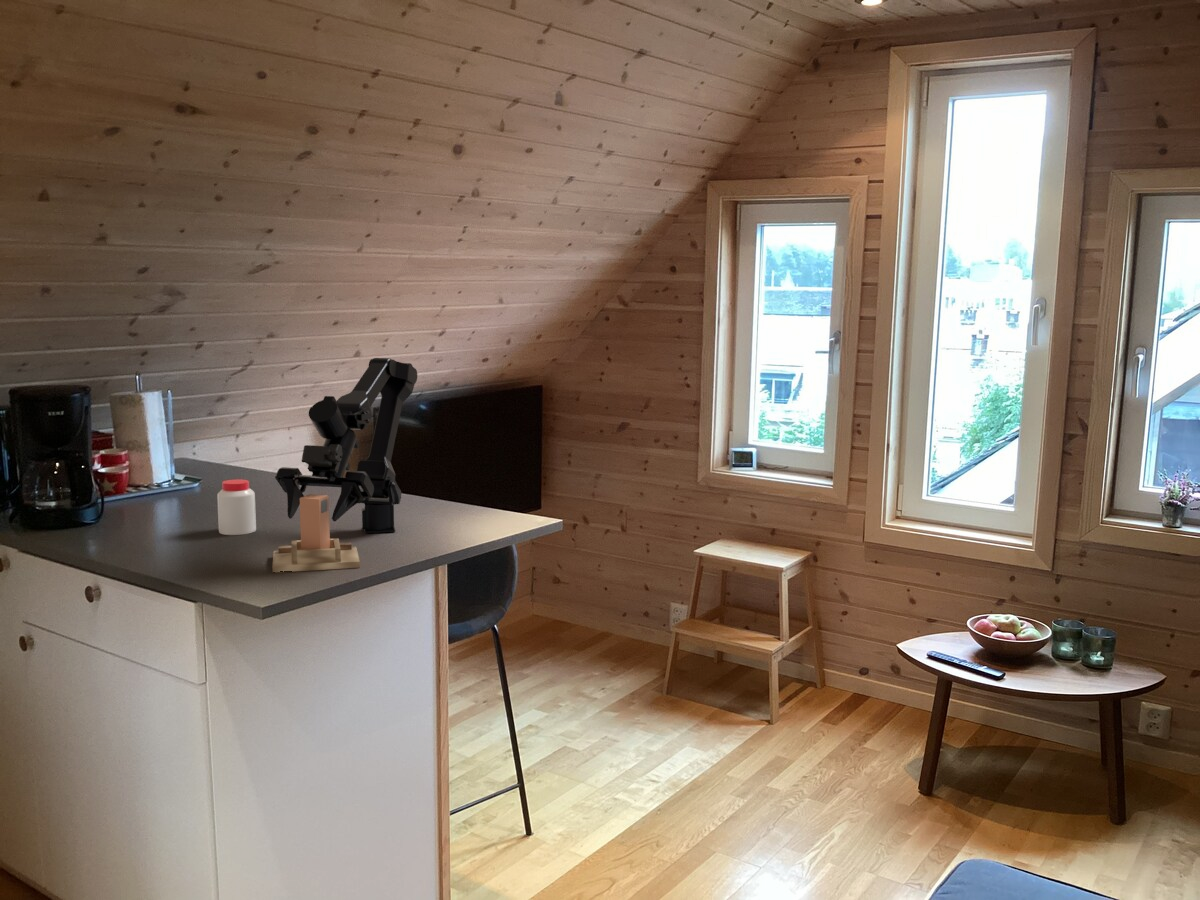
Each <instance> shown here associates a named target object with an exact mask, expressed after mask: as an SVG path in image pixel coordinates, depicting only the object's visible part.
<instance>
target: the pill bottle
mask: <svg viewBox="0 0 1200 900" xmlns="http://www.w3.org/2000/svg"><path fill="white" fill-rule="evenodd" d="M221 484H222V485H221V486H222V489H220V491H218V492H217V495H216V496H217V519H218V522H217V523H218V533H219V534H221V535H226V536H242V535H248V534H251V533H254V532H256V531H257V517H256V516H257V515H256V513H257V512H256V495H255V494H256V493H255V491H254V490H253V489H251V488H250V481H249V480H247V479H240V478H239V479H236V478H235V479H229V480H228V479H227V480H223V481H222V482H221Z"/></svg>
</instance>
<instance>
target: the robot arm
mask: <svg viewBox="0 0 1200 900" xmlns="http://www.w3.org/2000/svg"><path fill="white" fill-rule="evenodd" d="M417 381H418V371H417V369H416V368H415V367H414V366H413V364H412V363H411V362H400V361H397V360H395V359H392V358H389V357H373V358H371V359H370V360H369V362H368V367H367V368H366V370H365V371H364V373H363V374H362V376H361V377H360V379H359V380H358V382H357V383H356V384H355V386H354V387H353V389H352V391H350V392H349V393H347V394H345V395H341V396H340V397H339V398H338V399H336V397H335V396H333V395H330V396H329V395H325V396H323V399H322V400H319V401H318V402H316V403H314V404H313V405H312V406H311V407H310V408H309V409H308V417H309V419H310V421H311V423H312V424H313V427H315V429H316V431H317V433H318V435H319V436H320V437H321V438H323V439H325V441H324V442H323V445H310V444H309V445H308V444H307V445H304V446H303V451H302V455H301V462H302V463H305V464H306V465H308V466H307V469H308V470H307V471H308V472H310V473H312V474H310V475H309V474H303V473H302V472H301V470H300V469H299V468H298V467H285V466H284V467H280V468H279V469H278V470H277V471H276V473H275V476H274V479H275V480H276V481H277V483H278V485H279V486H280V487H281V489H282V490H283V492H284V493H286V495H287V517H288V519H291V520H292V518H293V517H294V516H295V514H296V512H297V511H298V509H299V508H300V498H301V497H304V496H305V495H304V494H303V493H304V492H306V489H307V487H323V488H327V489H328V488H331V489H340V493H339V497H338V500H337V502H336V505H335V507H334V509H333V512H332V516H331V519H332V521H333V522H337V521H338V520H339V519H340V518H341V517H342V516H344V515H345V514H346V513H347V512H348V511H349V510H350V509H351V508H353V507H355V506H356V505H357V504H363V507H361V511H360V513H361V514H360V516H361V529H362V530H364V533H365V534H377V533H380V534H381V533H395V532H396V528H395V507H394V506H395V505H400V504H401V500H402V491H401V489H400V487H399V485H398V483H397V480H396V476H397V475H396V473H395V470H394V468H393V465H392V456H393V453H394V448H395V444H396V438H397V433H398V429H399V423H400V419H401V414H402V408H403V404H404V402H405V401H406V400H407V399H408V398H409V397H410V396H411V395H412V394H413V391H414V388H415V384H416V383H417ZM379 394H380V395H381V397H380V398H381V399H380V403H379V407H378V408H379V409H378V413H377V417H376V422H375V425H374V426H375V427H374V432H373V436H372V441H371V445H370V450H369V454H368V456H367V458H366V459H359V462H358V463H357V470H350V469H351V465H350V463H349V462H350V459H351V456H352V453H353V450H354V449H359V447H360V445H359V441H358V437H357V435H356V433H355V431H354V430H361V431H362V430H363V431H364V430H366V428H367V427H368V425H369V424H370V422H371V419H372V417H373V414H372V406H373V403H374V402H375V401H376V399H377V397H379ZM345 472H346V473H345Z"/></svg>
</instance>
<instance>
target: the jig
mask: <svg viewBox="0 0 1200 900" xmlns="http://www.w3.org/2000/svg"><path fill="white" fill-rule="evenodd" d="M360 567H361V561H360V555H359V552H358V549H357V546H352V542H350V541H349V542H340V539H339V538H338V537H337V538H335V537H334V538H330V548H329V549H310V550H301V539H300V540H297V539H296V540H291V545H278V550H273V555H272V573H273V572H275V573H281V572H280V571H283V572H282V573H285V572H284V571H292V572H304V571H323V570H324V571H325V570H338V569H342V570H343V569H355V568H357V569H358V568H359V569H360Z"/></svg>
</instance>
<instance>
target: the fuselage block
mask: <svg viewBox="0 0 1200 900" xmlns="http://www.w3.org/2000/svg"><path fill="white" fill-rule="evenodd" d="M329 498H330V497H329V495H327V494H311V493H310V494H307V495H304V497H301V498H300V505H299V521H300V540H301V550H310V549H329V548H330V539H331V537H330V536H331V535H330V533H331V532H330V501H329Z"/></svg>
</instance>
